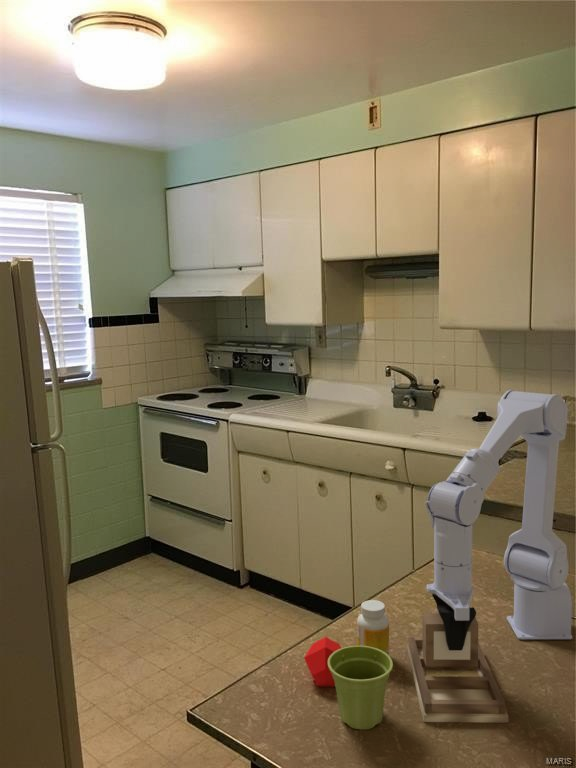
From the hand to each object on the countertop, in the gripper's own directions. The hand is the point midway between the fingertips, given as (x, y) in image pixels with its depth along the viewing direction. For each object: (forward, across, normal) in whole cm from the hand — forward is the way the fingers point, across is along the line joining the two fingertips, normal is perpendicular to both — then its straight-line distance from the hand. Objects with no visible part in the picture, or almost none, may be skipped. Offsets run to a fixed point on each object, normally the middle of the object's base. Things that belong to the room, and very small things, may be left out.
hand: (452, 642), depth 104 cm
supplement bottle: (+7, -7, -12) cm, 16 cm away
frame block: (+3, 0, 0) cm, 3 cm away
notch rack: (+7, 0, 0) cm, 7 cm away
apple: (+7, -1, -20) cm, 21 cm away
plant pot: (+7, +9, -15) cm, 19 cm away
